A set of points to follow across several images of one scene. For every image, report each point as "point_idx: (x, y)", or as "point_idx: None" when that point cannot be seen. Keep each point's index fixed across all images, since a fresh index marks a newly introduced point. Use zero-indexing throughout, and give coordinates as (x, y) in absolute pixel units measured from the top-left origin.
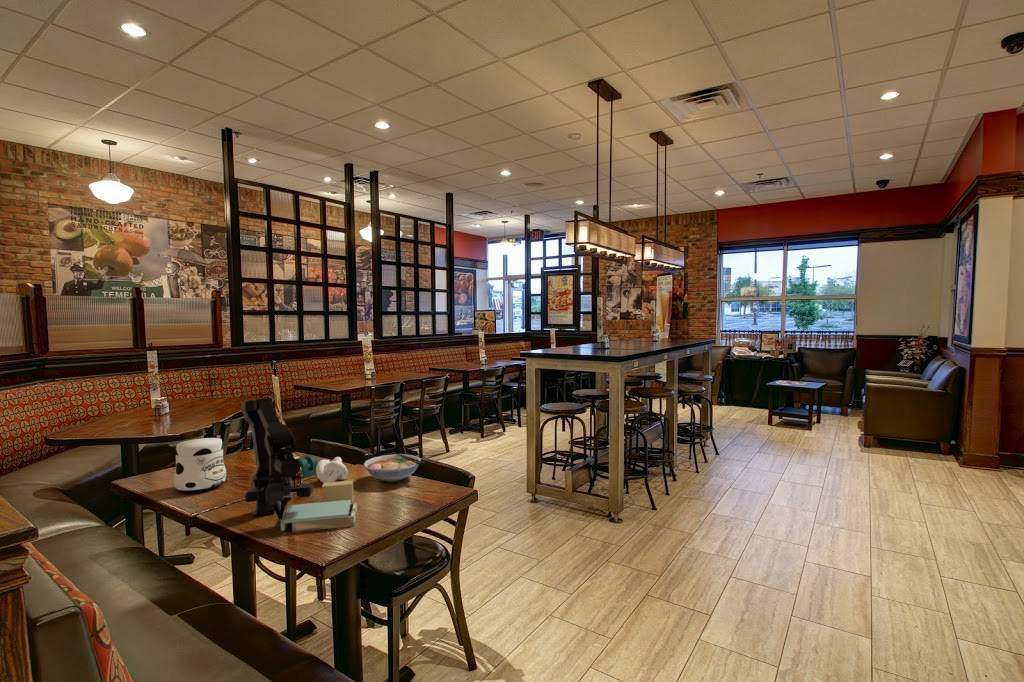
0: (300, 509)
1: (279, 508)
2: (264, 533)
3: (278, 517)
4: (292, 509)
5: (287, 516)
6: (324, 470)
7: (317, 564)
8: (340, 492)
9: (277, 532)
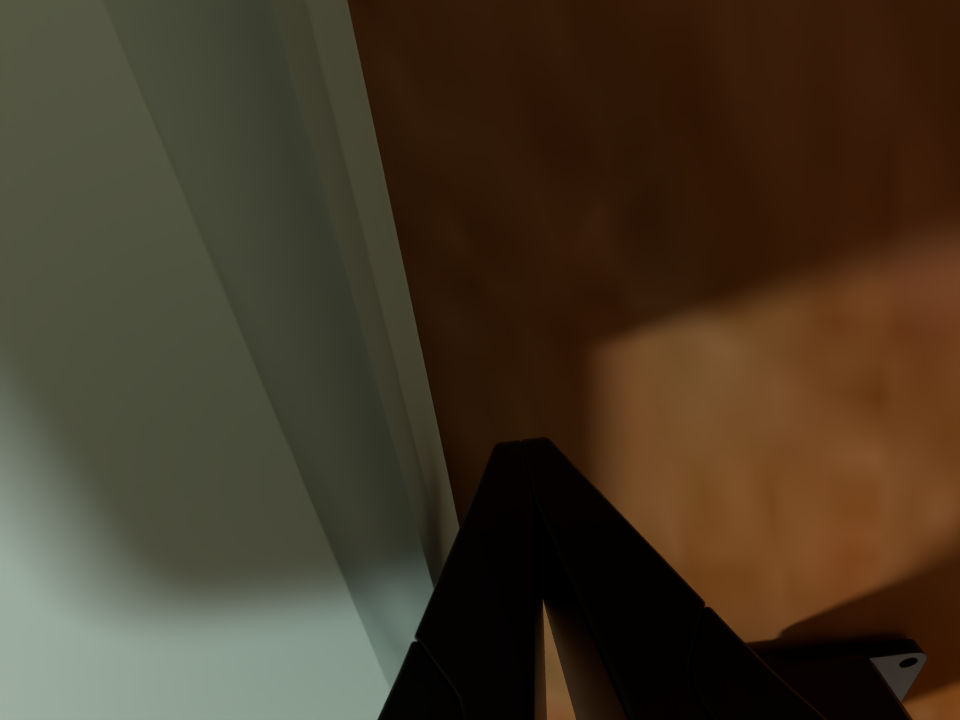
0: (142, 693)
1: (593, 700)
2: (735, 43)
3: (562, 462)
4: (338, 696)
5: (194, 340)
6: None
7: None
8: None
9: (461, 61)
